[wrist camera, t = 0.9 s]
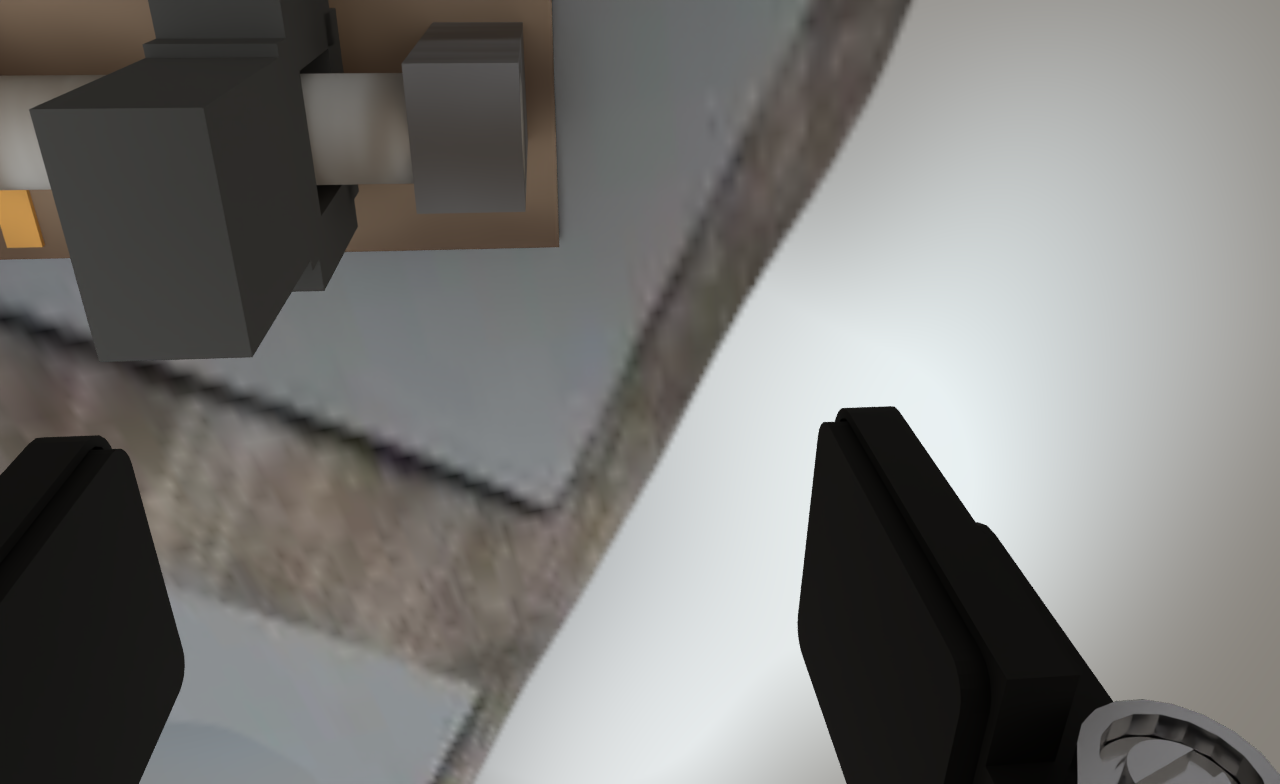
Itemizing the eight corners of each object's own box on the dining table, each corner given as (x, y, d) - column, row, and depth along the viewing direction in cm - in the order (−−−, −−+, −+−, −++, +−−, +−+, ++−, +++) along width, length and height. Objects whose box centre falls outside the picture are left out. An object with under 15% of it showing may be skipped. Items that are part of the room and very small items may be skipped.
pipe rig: (-448, -121, 29) (-850, -123, 21) (547, -111, 32) (552, -110, 23) (-277, 256, 35) (-539, 376, 26) (558, 238, 37) (565, 341, 29)
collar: (226, -25, 28) (9, 38, 17) (331, -25, 29) (189, 37, 17) (269, 219, 32) (113, 414, 20) (362, 218, 32) (262, 408, 20)
